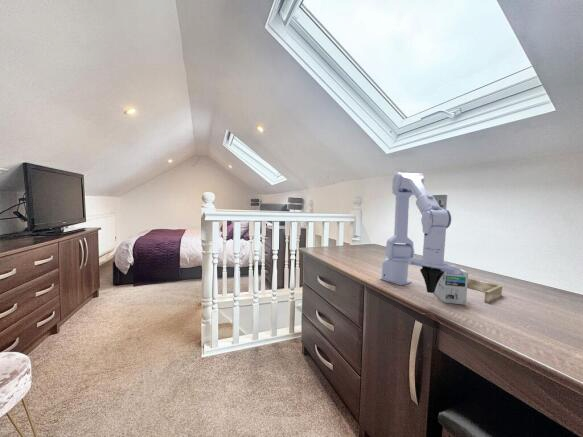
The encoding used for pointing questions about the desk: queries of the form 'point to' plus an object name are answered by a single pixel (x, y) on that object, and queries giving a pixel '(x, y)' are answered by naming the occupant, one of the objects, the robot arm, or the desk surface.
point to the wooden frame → (486, 289)
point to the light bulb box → (453, 287)
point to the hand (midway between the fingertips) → (430, 292)
